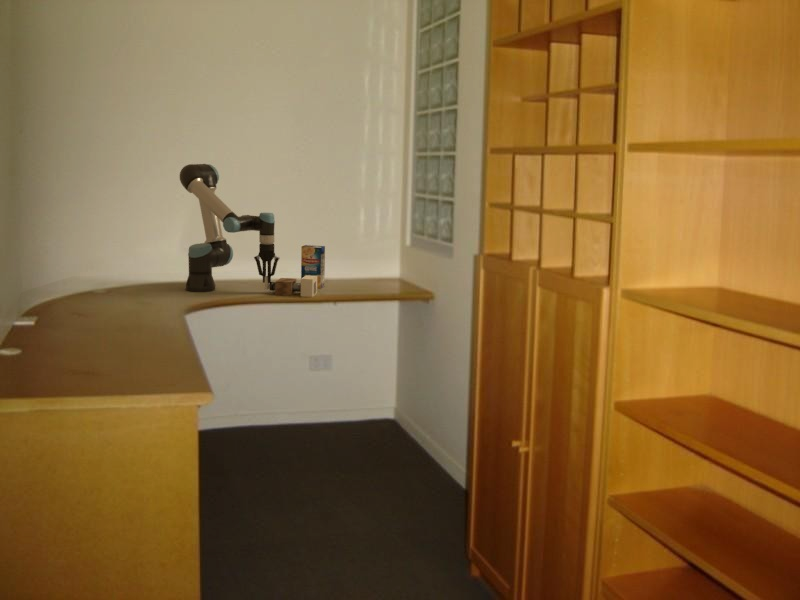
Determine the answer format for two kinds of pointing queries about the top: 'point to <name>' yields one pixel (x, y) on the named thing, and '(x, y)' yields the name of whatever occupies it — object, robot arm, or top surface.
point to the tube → (295, 287)
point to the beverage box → (313, 263)
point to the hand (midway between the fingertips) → (266, 289)
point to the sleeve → (284, 287)
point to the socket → (308, 286)
